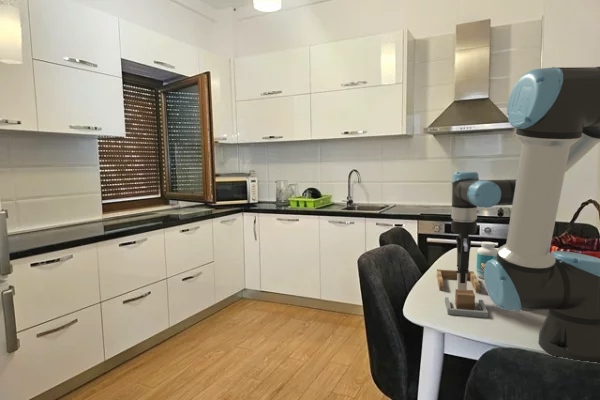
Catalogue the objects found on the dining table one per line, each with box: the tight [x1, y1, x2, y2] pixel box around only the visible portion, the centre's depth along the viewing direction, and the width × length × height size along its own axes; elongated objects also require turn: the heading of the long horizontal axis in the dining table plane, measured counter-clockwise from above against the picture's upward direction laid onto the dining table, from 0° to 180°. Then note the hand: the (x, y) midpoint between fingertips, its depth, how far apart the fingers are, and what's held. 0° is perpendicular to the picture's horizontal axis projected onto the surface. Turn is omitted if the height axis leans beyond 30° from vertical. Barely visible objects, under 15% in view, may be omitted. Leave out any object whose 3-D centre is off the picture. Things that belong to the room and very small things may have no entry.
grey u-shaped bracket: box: [444, 296, 489, 319], centre depth 119 cm, size 10×11×2 cm
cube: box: [454, 288, 476, 310], centre depth 120 cm, size 5×5×5 cm
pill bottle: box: [475, 241, 498, 280], centre depth 150 cm, size 8×7×14 cm
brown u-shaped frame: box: [436, 269, 481, 294], centre depth 142 cm, size 16×13×3 cm
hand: (461, 291), depth 127 cm, fingers closed
